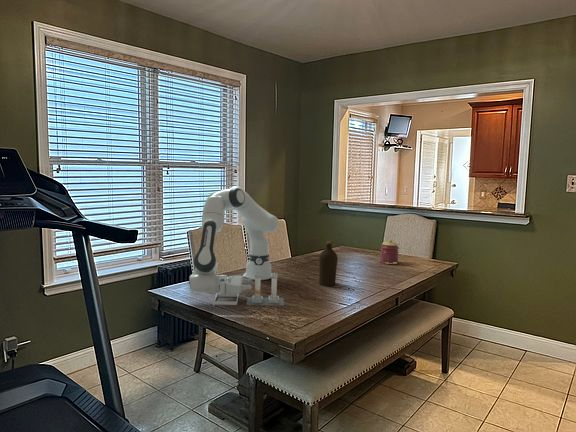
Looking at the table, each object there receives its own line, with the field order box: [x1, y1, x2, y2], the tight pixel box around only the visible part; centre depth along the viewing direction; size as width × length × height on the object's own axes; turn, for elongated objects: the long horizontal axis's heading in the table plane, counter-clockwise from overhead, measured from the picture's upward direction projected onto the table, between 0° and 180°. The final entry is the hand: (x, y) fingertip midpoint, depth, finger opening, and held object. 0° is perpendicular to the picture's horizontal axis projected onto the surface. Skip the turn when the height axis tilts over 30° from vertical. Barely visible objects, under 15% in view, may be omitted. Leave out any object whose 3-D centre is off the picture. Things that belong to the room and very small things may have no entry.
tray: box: [213, 293, 240, 306], centre depth 215 cm, size 13×11×2 cm
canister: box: [379, 238, 400, 263], centre depth 319 cm, size 13×13×18 cm
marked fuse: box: [254, 272, 262, 298], centre depth 215 cm, size 3×3×14 cm
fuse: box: [270, 272, 278, 299], centre depth 215 cm, size 3×3×14 cm
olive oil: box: [318, 240, 338, 287], centre depth 254 cm, size 11×11×25 cm
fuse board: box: [246, 294, 285, 306], centre depth 216 cm, size 12×18×3 cm, turn 93°
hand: (251, 284), depth 214 cm, fingers open, 8 cm apart
